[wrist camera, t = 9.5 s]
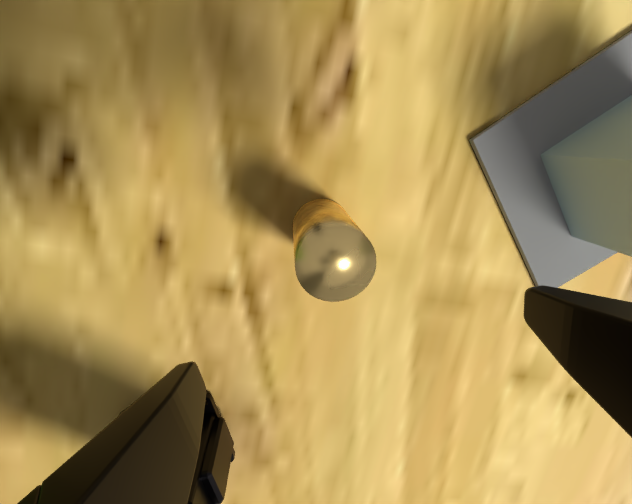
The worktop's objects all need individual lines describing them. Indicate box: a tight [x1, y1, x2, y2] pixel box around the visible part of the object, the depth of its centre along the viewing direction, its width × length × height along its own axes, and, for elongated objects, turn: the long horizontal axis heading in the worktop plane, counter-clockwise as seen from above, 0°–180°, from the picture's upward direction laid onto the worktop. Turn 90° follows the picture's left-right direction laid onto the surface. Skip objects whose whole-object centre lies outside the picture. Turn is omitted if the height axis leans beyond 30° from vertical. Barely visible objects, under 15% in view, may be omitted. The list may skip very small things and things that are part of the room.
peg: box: [293, 199, 376, 302], centre depth 16 cm, size 3×3×6 cm
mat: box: [469, 30, 632, 288], centre depth 19 cm, size 12×12×1 cm
